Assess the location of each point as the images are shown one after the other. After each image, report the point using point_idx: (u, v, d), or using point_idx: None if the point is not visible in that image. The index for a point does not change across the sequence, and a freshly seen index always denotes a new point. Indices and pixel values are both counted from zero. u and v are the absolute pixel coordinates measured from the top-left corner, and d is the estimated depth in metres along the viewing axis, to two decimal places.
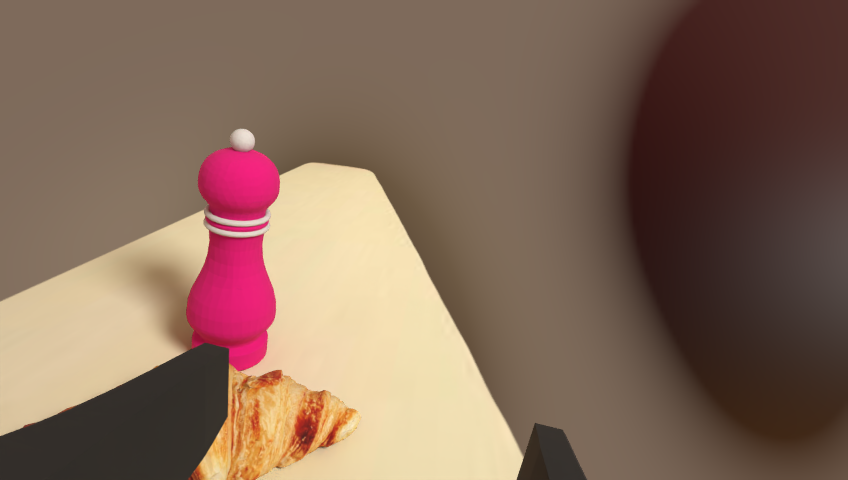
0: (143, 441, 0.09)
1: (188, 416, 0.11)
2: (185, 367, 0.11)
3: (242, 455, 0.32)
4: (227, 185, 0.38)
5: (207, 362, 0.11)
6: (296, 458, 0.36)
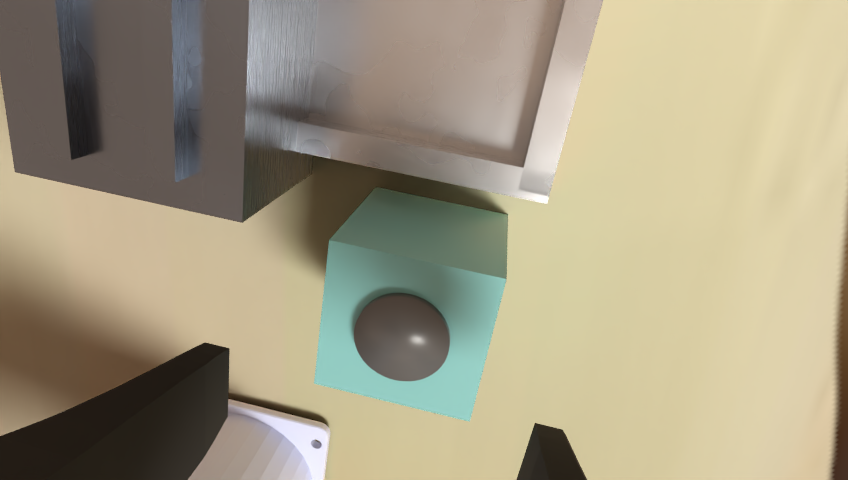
0: (143, 441, 0.09)
1: (188, 416, 0.11)
2: (185, 367, 0.11)
3: None
4: None
5: (207, 362, 0.11)
6: None
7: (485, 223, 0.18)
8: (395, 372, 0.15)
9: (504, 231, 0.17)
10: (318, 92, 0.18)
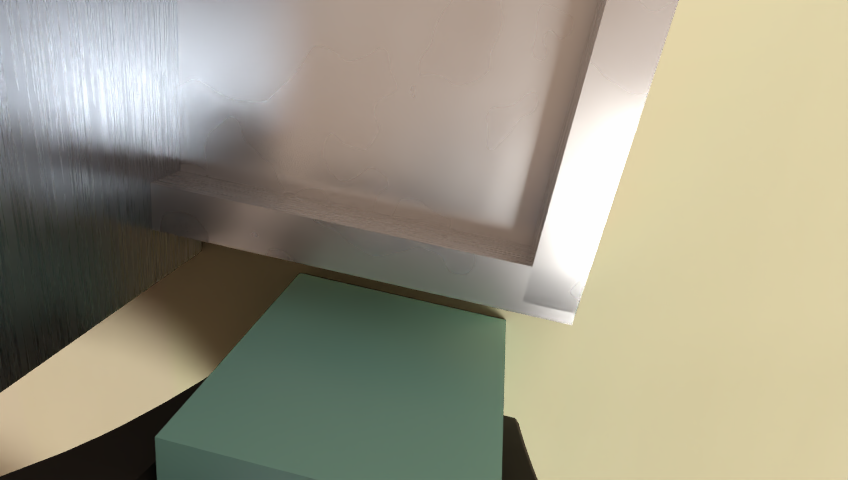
0: None
1: None
2: None
3: None
4: None
5: None
6: None
7: (467, 347, 0.11)
8: None
9: (498, 365, 0.10)
10: (192, 131, 0.11)
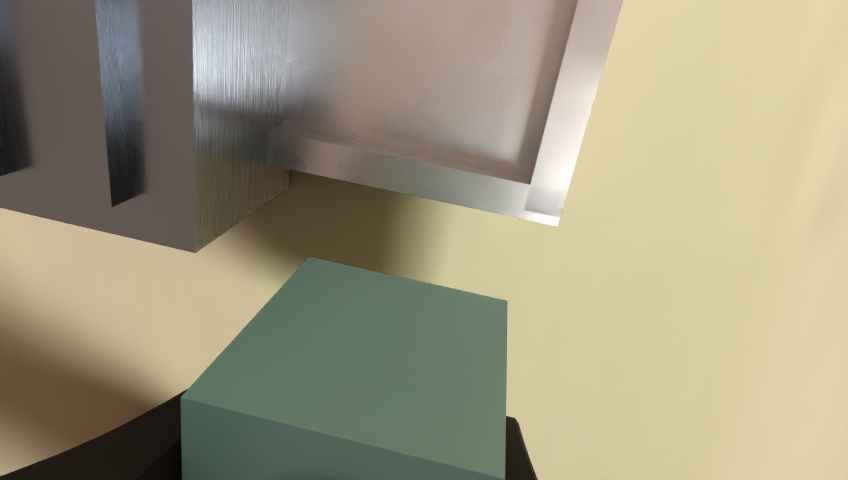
0: None
1: None
2: None
3: None
4: None
5: None
6: None
7: (471, 324, 0.11)
8: None
9: (501, 341, 0.11)
10: (293, 95, 0.15)
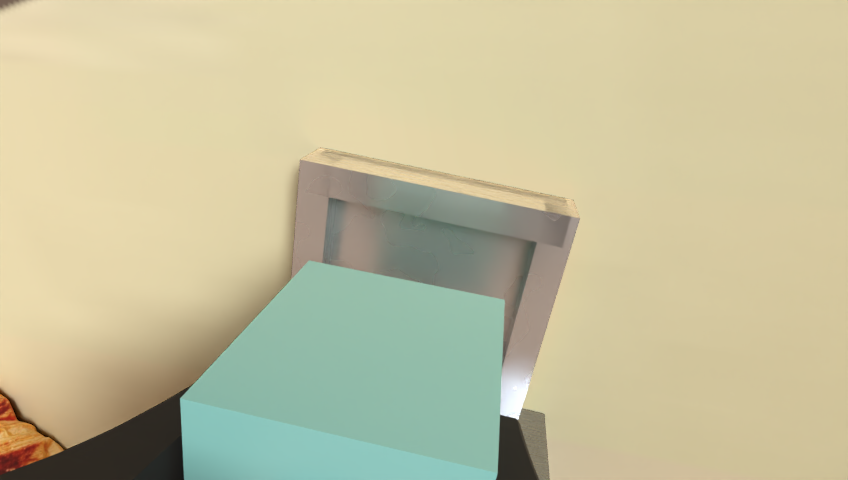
0: None
1: None
2: None
3: None
4: None
5: None
6: (46, 449, 0.24)
7: (468, 323, 0.11)
8: None
9: (498, 339, 0.11)
10: None
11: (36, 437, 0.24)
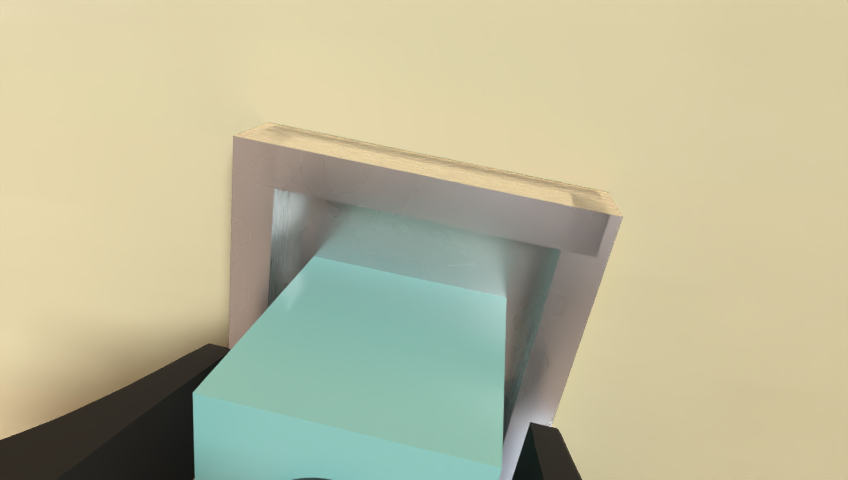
0: (148, 442, 0.09)
1: None
2: (190, 368, 0.11)
3: None
4: None
5: (212, 363, 0.11)
6: None
7: (470, 321, 0.12)
8: None
9: (500, 336, 0.11)
10: None
11: None
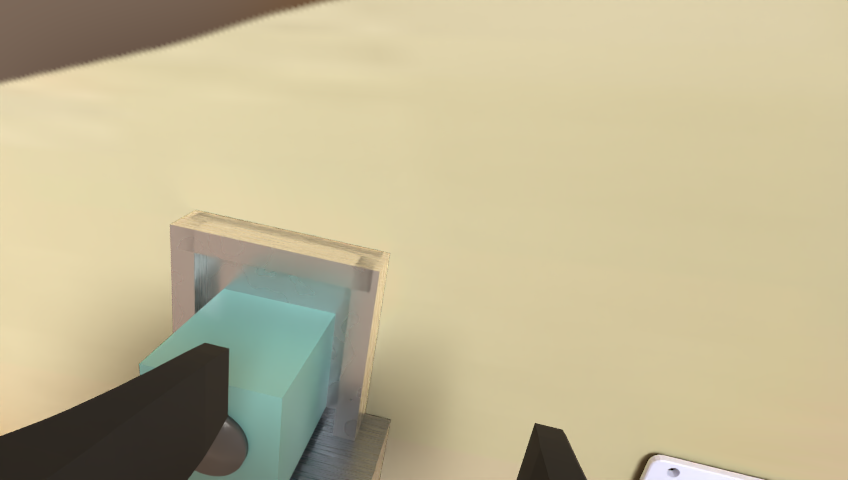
0: (143, 441, 0.09)
1: (188, 416, 0.11)
2: (185, 367, 0.11)
3: None
4: None
5: (207, 362, 0.11)
6: None
7: (304, 328, 0.21)
8: (206, 469, 0.18)
9: (317, 336, 0.20)
10: None
11: None
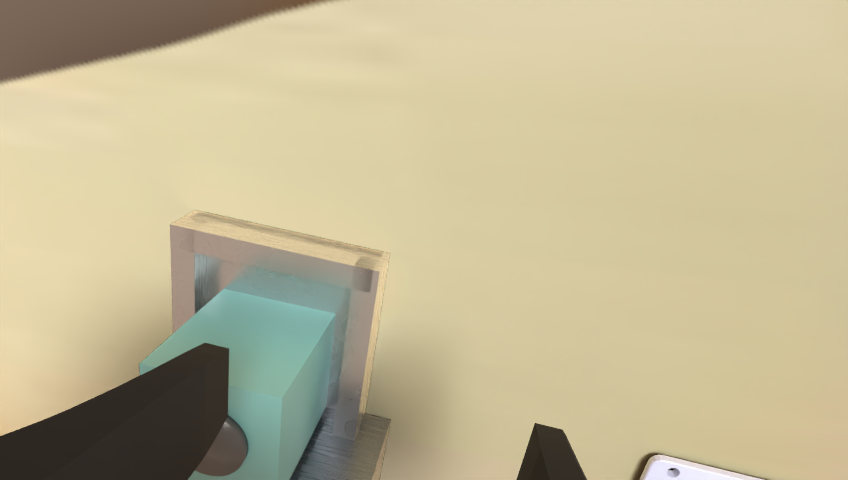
0: (143, 441, 0.09)
1: (188, 416, 0.11)
2: (185, 367, 0.11)
3: None
4: None
5: (207, 362, 0.11)
6: None
7: (304, 328, 0.21)
8: (206, 469, 0.18)
9: (317, 336, 0.20)
10: None
11: None
